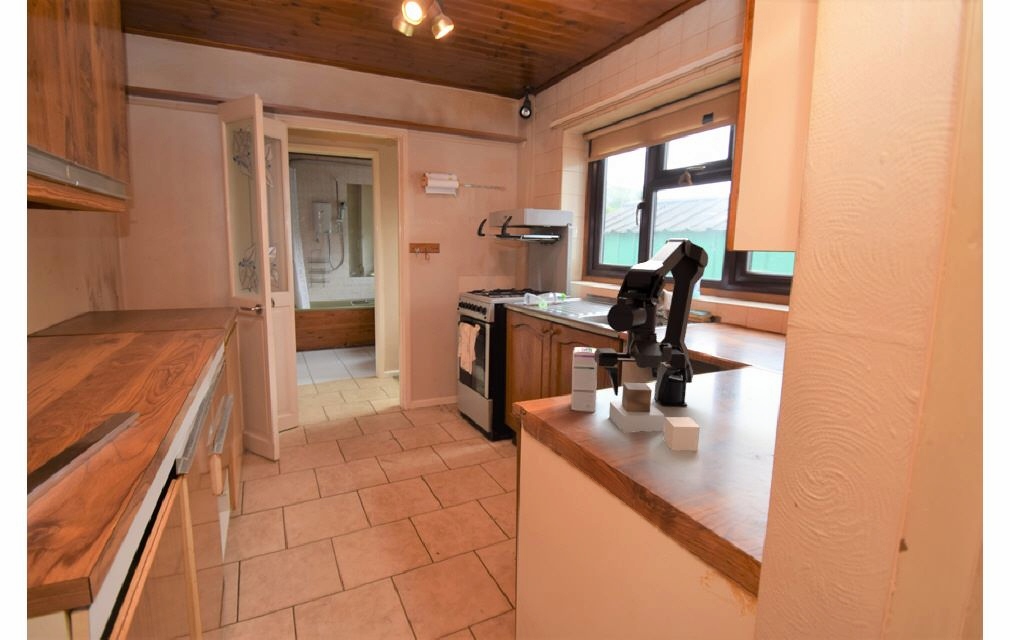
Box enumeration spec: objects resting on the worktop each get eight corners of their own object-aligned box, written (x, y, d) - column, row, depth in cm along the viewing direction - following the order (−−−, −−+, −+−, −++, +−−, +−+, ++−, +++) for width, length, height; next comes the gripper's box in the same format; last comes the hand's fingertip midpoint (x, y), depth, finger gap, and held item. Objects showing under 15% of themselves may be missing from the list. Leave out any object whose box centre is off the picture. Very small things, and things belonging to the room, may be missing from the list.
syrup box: (595, 412, 110) (598, 352, 108) (570, 410, 111) (572, 351, 109) (595, 404, 116) (598, 347, 113) (571, 402, 117) (574, 346, 114)
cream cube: (687, 440, 95) (689, 417, 94) (697, 451, 90) (699, 427, 89) (663, 440, 95) (665, 417, 94) (671, 450, 90) (673, 426, 89)
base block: (646, 417, 108) (647, 401, 108) (663, 432, 100) (664, 415, 99) (609, 418, 107) (610, 402, 107) (623, 434, 99) (624, 416, 98)
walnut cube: (644, 404, 105) (645, 383, 105) (649, 412, 100) (651, 390, 100) (621, 403, 106) (623, 382, 105) (626, 411, 101) (628, 389, 100)
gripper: (606, 332, 92) (602, 407, 95) (700, 334, 92) (693, 409, 95) (595, 323, 103) (592, 390, 106) (679, 324, 103) (674, 392, 106)
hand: (637, 395), depth 103 cm, fingers open, 9 cm apart
